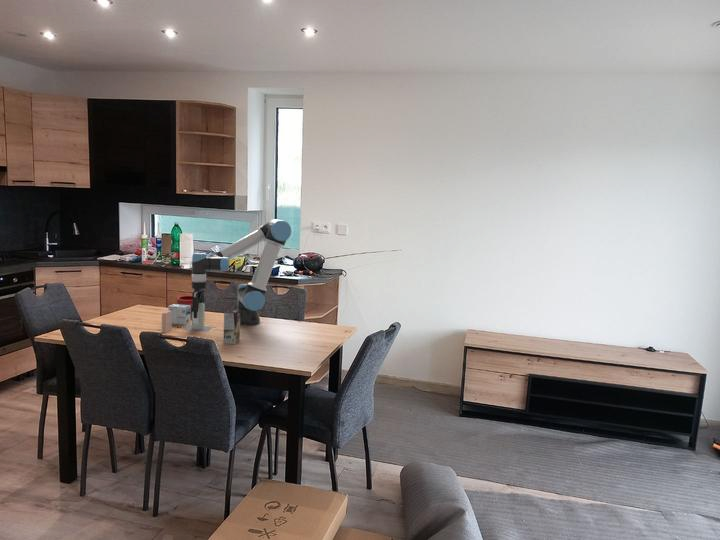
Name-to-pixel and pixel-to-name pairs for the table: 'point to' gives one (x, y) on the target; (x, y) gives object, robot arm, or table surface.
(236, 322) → the coffee box
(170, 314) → the tile
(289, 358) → the table surface
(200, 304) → the pusher tool
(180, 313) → the light bulb box
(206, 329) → the tool mat
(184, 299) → the plant pot
